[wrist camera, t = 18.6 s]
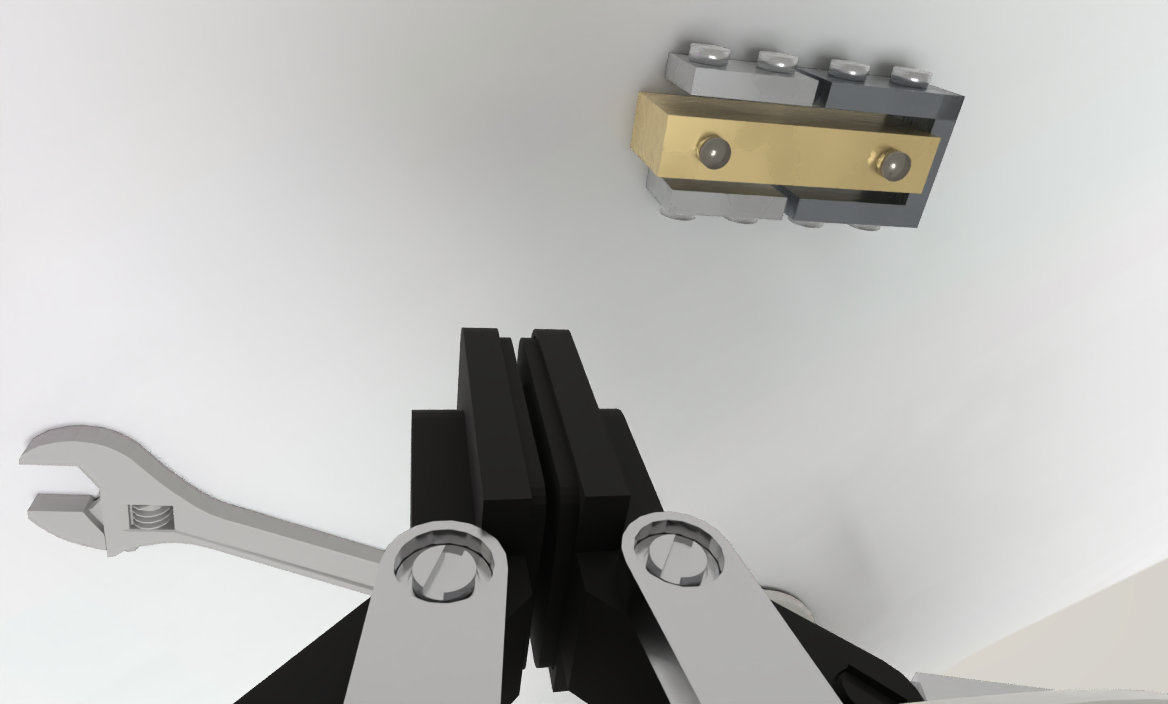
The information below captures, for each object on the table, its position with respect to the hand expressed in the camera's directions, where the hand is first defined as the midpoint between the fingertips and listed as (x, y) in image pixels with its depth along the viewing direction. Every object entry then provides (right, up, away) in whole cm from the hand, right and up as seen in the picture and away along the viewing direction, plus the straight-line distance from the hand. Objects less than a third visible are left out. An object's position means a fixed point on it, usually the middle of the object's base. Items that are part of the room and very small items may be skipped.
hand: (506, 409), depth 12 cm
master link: (+9, +11, +22) cm, 26 cm away
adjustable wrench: (-16, -9, +29) cm, 34 cm away
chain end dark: (+13, +11, +23) cm, 28 cm away
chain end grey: (+7, +11, +21) cm, 25 cm away
